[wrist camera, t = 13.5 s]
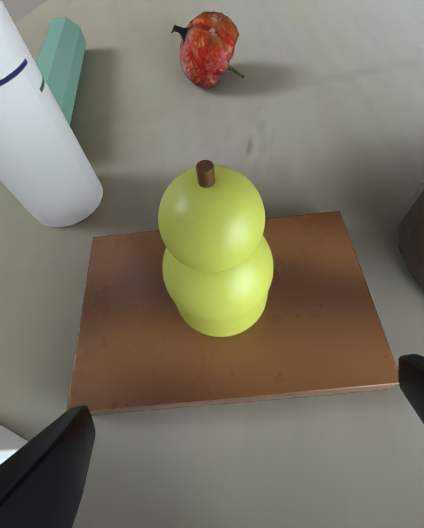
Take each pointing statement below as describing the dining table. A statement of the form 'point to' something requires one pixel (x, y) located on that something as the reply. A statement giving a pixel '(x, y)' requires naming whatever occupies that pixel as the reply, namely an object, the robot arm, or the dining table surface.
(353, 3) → the dining table surface
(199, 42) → the red rounded lumpy piece
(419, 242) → the bowl
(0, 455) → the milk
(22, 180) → the cylindrical container
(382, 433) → the dining table surface
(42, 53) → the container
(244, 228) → the pear
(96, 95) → the dining table surface
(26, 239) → the dining table surface
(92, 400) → the board
